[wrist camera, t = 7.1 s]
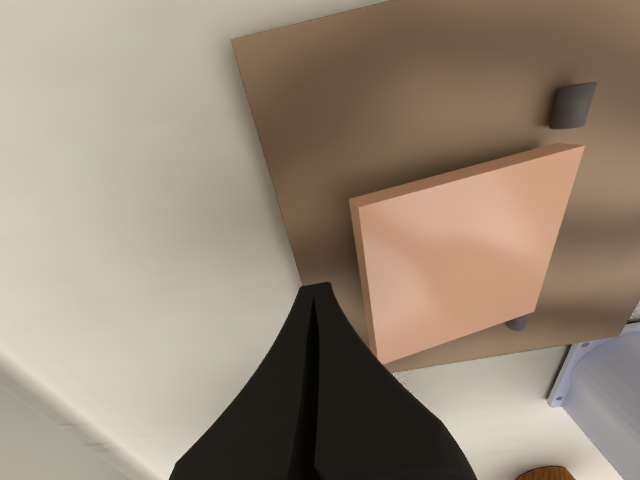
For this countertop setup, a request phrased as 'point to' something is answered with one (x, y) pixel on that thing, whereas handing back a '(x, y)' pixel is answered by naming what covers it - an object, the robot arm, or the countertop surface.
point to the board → (458, 140)
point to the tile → (459, 248)
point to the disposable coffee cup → (547, 474)
